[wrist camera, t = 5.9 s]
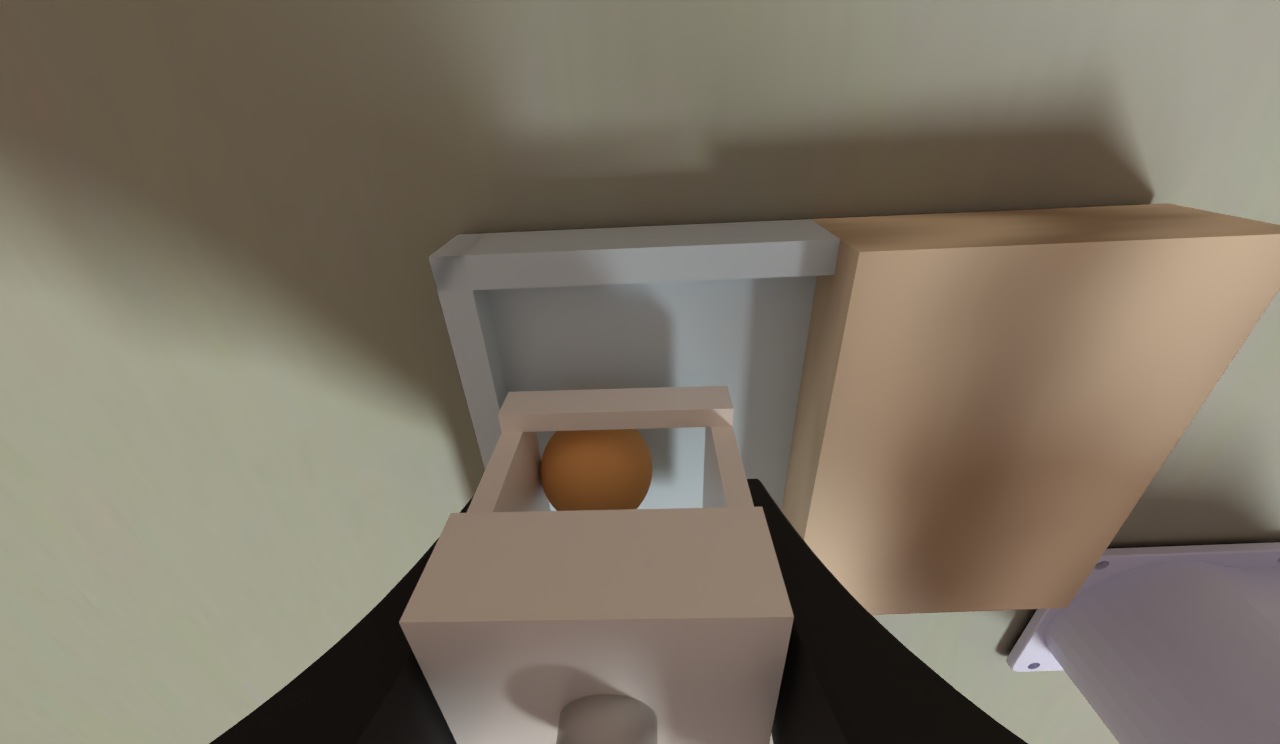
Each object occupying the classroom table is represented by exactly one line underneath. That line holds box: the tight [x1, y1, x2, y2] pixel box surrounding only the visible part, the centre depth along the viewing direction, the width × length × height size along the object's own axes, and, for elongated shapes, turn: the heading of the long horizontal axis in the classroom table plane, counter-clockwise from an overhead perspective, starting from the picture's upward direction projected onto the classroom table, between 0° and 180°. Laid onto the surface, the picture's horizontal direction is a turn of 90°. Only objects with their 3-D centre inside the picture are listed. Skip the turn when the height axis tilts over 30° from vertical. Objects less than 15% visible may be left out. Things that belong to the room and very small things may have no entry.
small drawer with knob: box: [399, 386, 794, 744], centre depth 10 cm, size 5×5×7 cm
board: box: [781, 204, 1280, 615], centre depth 14 cm, size 9×12×3 cm
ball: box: [540, 429, 653, 511], centre depth 13 cm, size 3×3×3 cm
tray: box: [428, 219, 840, 511], centre depth 14 cm, size 9×12×2 cm
